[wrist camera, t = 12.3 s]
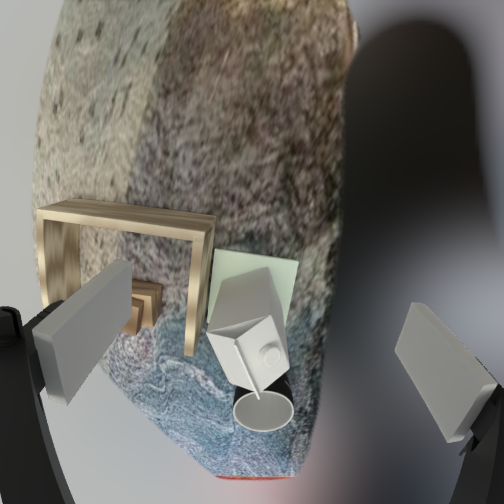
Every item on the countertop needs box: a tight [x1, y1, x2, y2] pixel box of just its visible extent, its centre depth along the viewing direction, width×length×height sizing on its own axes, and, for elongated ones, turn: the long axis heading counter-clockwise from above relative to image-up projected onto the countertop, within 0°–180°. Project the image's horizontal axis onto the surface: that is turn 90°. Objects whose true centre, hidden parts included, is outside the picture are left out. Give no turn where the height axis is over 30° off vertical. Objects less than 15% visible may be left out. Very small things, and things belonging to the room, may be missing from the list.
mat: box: [207, 248, 299, 324], centre depth 48 cm, size 12×12×1 cm
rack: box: [37, 198, 217, 356], centre depth 42 cm, size 17×23×10 cm
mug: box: [233, 373, 294, 432], centre depth 47 cm, size 12×9×10 cm
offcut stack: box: [121, 279, 162, 336], centre depth 45 cm, size 6×9×8 cm, turn 82°
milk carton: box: [206, 267, 290, 399], centre depth 38 cm, size 7×7×19 cm
